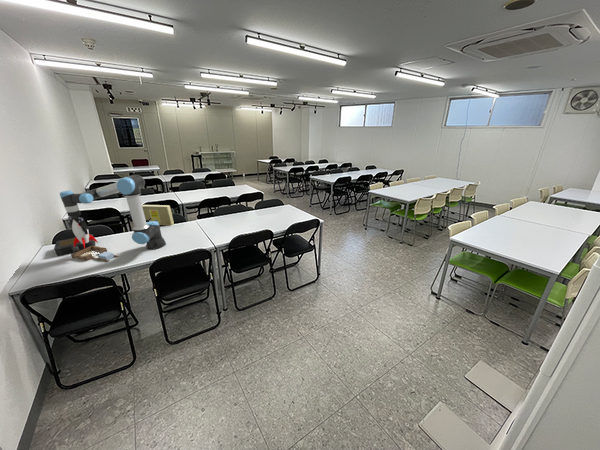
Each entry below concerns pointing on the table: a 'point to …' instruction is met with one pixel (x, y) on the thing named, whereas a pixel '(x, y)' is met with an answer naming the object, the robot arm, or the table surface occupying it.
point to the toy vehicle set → (158, 214)
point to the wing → (106, 255)
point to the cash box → (70, 246)
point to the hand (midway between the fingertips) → (83, 236)
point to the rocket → (80, 234)
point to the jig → (89, 256)
